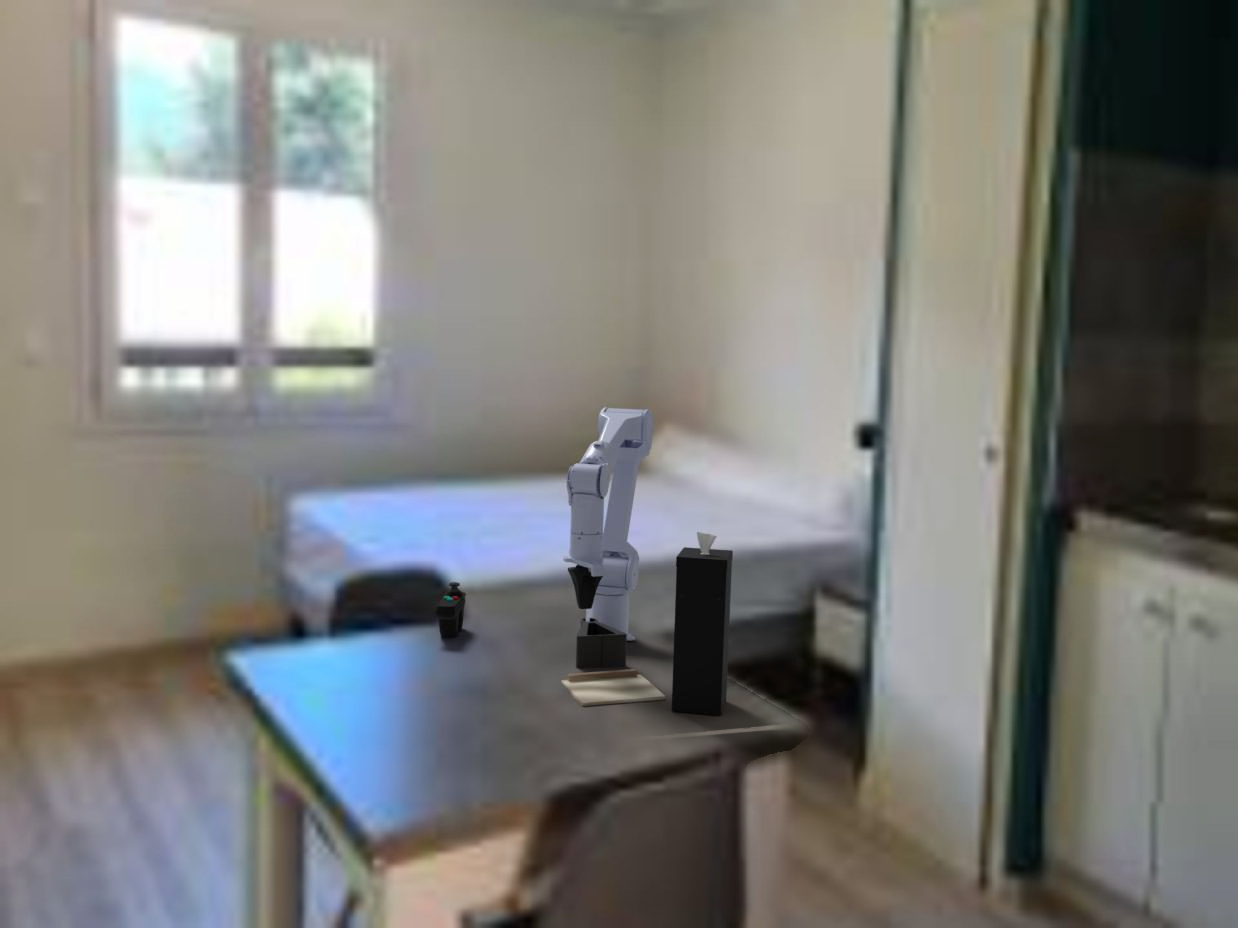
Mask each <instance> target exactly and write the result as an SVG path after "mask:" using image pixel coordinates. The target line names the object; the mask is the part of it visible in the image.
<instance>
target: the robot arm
mask: <svg viewBox="0 0 1238 928" xmlns="http://www.w3.org/2000/svg"><path fill="white" fill-rule="evenodd" d="M597 420H598V422H597V431H598V434H599V438H598V440H595V441H594V442H592V443H591V444H590V445H589V446H588V448H587V450H586V451H585V453H584V455H583V456H582V458H581V460H580V461H579V463H578V462H577V463H575V464H573V465H571V466H569V469H568V472H567V476H566V491H567V496H568V500H567V501H568V506H570V531H569V532H570V534H569V535H570V537H569V538H570V540H569V543H570V544H569V550H568V555H567V556H566V555H565V556H563V557H562V558H563V559H562V561H564V562H565V563H572V564H575V566H570V567H568V568H567V571H568V574H569V576H570V578H571V580H572V584H573V588H574V593H575V599H576V603H577V607H578V608H579V610H586V611H585V613H586V614H585V618H586V621H587V622H590V618H595V619H597V621H598V622H600V623H602V624H605V625H607V626H610V627H612V628H614V629H617V630H619V631H621V632H624V633H626V634H627V642H628V641H629V642H630V641H635V640H636V637H635V636H633V635H632V634H631V632H629V606H630V604H629V603H630V592H633V591H634V589H635V588H636V587H637V584H638V582H639V576H640V575H639V574H640V569H639V568H640V567H639V565H640V564H639V563H640V556H639V555H640V554H639V553H638V551H637V549H636V548H635V547H634V546H633V545H632V544H631V543H630V542H629V541H628V538H629V532H630V524H631V517H632V511H633V505H634V498H635V492H636V485H637V479H638V472H639V468H640V464H641V461H642V459H645V458H646V457H648V456H649V455H650V450H651V449H652V444H653V443H652V442H653V437H654V429H655V428H654V427H655V426H654V415H653V412H652V411H651V409H649V408H646V409H637V408H636V409H633V408H616V407H615V408H614V407H608V406H605V407H603V408H602V409H601V410H600V412H599V416H598V419H597ZM611 474H612V477H611ZM610 482H611V483H610ZM609 487H610V489H609ZM608 492H609V496H608V500H607V501H608V502H607V508H606V514H605V513H604V511H605V509H604V508H605V497H606V496H607V495H608ZM604 514H605V515H604ZM604 516H605V517H604ZM604 518H605V520H604Z"/></svg>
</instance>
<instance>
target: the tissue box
mask: <svg viewBox="0 0 1238 928" xmlns="http://www.w3.org/2000/svg"><path fill="white" fill-rule="evenodd" d="M696 537H697V540H698V541H697V542H698V546H699V548H698V547H683V548H682V549H681V551H680V552H679V553H678V554H677V555H676V556H675V557H676V558H675V559H676V560H675V568H676V577H675V578H676V579H675V600H674V602H675V604H674V607H675V608H674V609H675V610H674V632H673V662H672V664H673V665H672V691H671V711H672V712H678V713H679V712H680V713H691V714H699V715H710V716H711V715H712V716H722V713H723V711H724V708H725V705H726V701H727V692H728V688H727V687H728V669H729V668H728V665H729V642H730V621H731V620H730V615H731V614H730V613H731V593H732V590H731V589H732V569H733V568H732V567H733V564H732V563H733V553H734V550H732V549H730V550H729V549H728V550H727V549H715V548H714V549H713V548H711V547H712V546H713V544H714V542H715V541H716V538H717V535H714V534H710V533H703V532H701V531H700V532H699V531H696Z"/></svg>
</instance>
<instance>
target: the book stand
mask: <svg viewBox="0 0 1238 928" xmlns="http://www.w3.org/2000/svg"><path fill="white" fill-rule="evenodd" d="M561 684H562V685H563V686H564V687H565V688H566V689H567V691H568V692H569V693H570V694H571V695H572V696H573V697H574V699H575V700H576V701H577V702H578V703H579V704H580V705H581V707H586V706H587V707H588V706H598V705H599V706H601V705H610V704H611V705H612V704H624V703H636V702H637V703H638V702H646V701H647V702H648V701H650V702H651V701H660V700H661V701H662V700H666V696H665V694H664V693H662V692H661V691H660V690H659V689H658V688H656V687H655V686H654V684H652V683H651V682H650V681H649V680H647V678H645V676H643V675H642V674H640V673H639V674H638V670H637V669H636V668H633V669H632V668H630V669H629V668H628V669H617V670H604V671H603V670H602V671H592V672H589V671H588V672H578V673H577V672H574V673H567V677H566V679H561Z"/></svg>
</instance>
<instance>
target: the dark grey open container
mask: <svg viewBox="0 0 1238 928" xmlns="http://www.w3.org/2000/svg"><path fill="white" fill-rule="evenodd" d="M575 643H576V649H575V652H576V653H575V654H576V655H575V668H576V669H585V668H586V669H588V668H592V669H593V668H616V667H621V666H622V667H626V666H627V646H628V645H627V643H628V641H627V634H626V633H624V632H621V631H619V630H617V629H614V628H612V627H610V626H607V625H605V624H602V623H600V622H598V621H597V619H595V618H590V622H587V621H586V617H584V618H583V617H582V618H581V619H580V628H579V630H578V632H577V635H576V642H575Z"/></svg>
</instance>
